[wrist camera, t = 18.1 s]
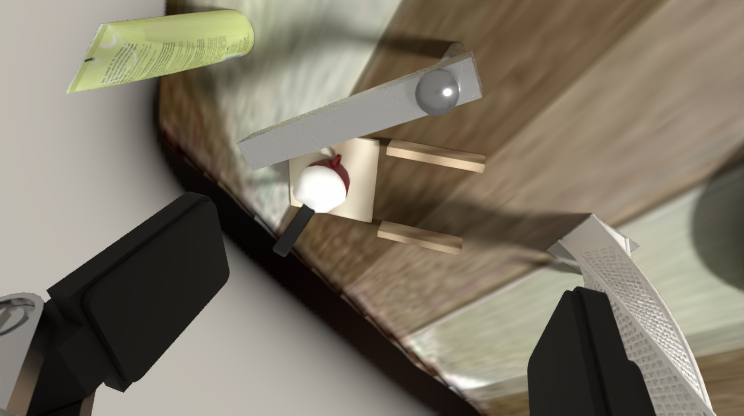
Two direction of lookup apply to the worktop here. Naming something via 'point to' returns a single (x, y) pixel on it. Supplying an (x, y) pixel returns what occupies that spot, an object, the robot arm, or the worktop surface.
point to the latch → (370, 110)
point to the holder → (437, 157)
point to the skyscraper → (637, 316)
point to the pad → (361, 171)
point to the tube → (161, 47)
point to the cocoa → (315, 197)
